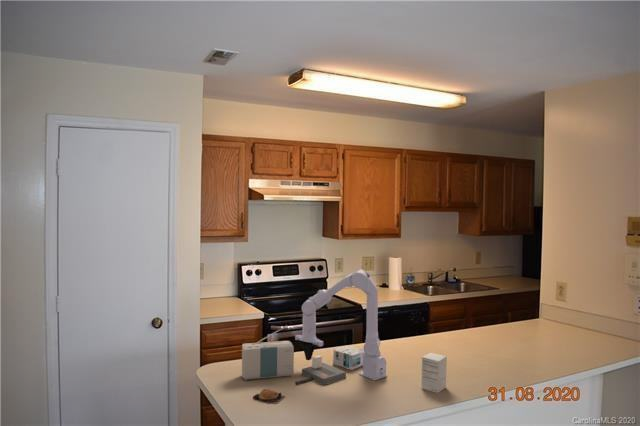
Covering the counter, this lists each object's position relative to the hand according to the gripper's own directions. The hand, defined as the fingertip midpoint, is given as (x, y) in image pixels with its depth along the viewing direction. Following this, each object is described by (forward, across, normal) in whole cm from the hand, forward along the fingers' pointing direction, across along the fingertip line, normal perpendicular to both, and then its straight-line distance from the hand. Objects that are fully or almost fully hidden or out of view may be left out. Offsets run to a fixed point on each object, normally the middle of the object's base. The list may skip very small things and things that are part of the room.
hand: (308, 359), depth 209 cm
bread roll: (+5, -9, +32) cm, 33 cm away
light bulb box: (+1, -4, -17) cm, 18 cm away
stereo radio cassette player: (+5, +8, +17) cm, 19 cm away
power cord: (+4, -8, +12) cm, 15 cm away
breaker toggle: (+2, -6, +1) cm, 6 cm away
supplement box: (+5, -50, -18) cm, 53 cm away
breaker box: (+4, -10, +2) cm, 11 cm away
